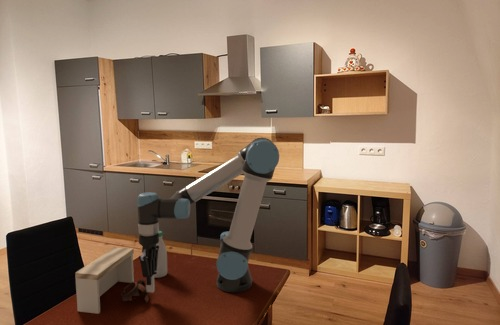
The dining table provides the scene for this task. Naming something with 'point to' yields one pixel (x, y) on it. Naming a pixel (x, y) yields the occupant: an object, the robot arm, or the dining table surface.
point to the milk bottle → (161, 258)
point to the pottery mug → (135, 291)
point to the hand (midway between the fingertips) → (150, 291)
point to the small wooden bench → (102, 277)
